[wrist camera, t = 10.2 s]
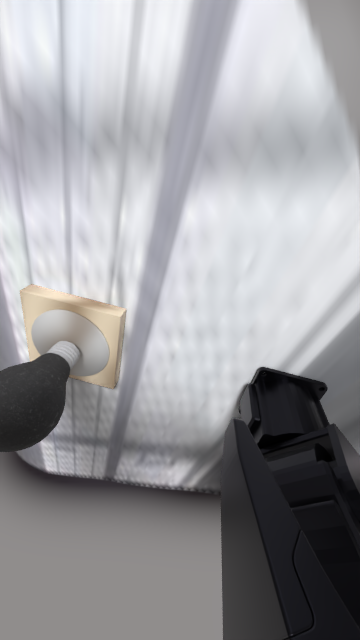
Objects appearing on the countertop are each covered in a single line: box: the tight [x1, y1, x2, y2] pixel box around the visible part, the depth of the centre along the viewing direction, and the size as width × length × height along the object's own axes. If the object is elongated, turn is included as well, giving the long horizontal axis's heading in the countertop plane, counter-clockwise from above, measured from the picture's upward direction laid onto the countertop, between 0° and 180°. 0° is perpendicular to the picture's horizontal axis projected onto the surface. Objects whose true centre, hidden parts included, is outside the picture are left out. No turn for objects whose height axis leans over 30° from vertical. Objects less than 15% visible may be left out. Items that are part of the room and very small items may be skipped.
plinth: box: [20, 284, 126, 389], centre depth 25 cm, size 9×9×2 cm
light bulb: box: [0, 341, 80, 452], centre depth 20 cm, size 6×6×10 cm
